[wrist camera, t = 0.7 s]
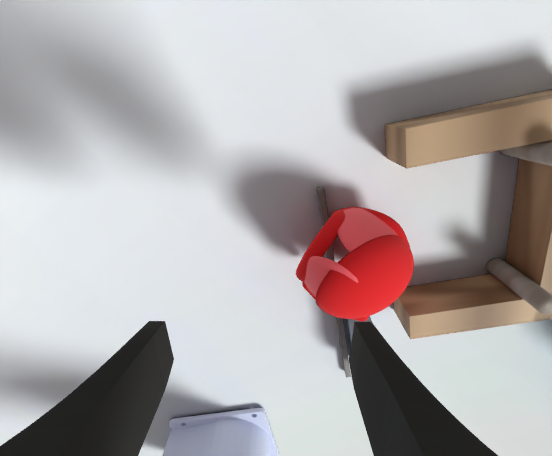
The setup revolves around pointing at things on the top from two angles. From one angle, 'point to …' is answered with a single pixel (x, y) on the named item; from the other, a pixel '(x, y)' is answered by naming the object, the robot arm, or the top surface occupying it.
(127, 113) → the top surface
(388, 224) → the cap
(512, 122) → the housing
